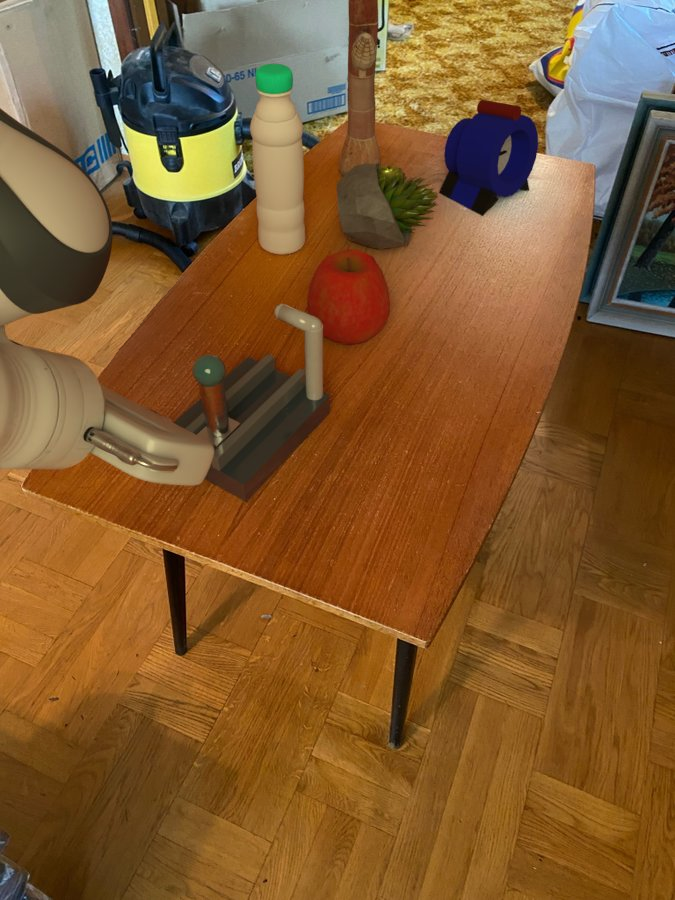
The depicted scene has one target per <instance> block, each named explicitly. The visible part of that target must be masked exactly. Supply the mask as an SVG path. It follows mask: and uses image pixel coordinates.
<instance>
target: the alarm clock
mask: <svg viewBox="0 0 675 900" xmlns="http://www.w3.org/2000/svg"><path fill="white" fill-rule="evenodd" d="M476 111H477V113H476V114H475V115H473V117H472V118H471V117H465V118H462V119H460V120H459V121H457V122H456V124H455V125H454V126H453V127H452V128H451V130H450V131H449V133H448V136H447V138H446V142H445V146H444V154H443V156H444V164H445V167H446V169H447V173H446V176H445V178H444V180H443V183H442V185H441V187H440V189H439V192H438V194H440V195H442V196H444V197H446V198H447V199H450V200H452V202H455V203H457V204H459V205H461V206H463V207H465V208H467V209H468V210H470V211H473V212H475V213H476V214H478V215H480V216H482V217H484V215H486V213H487V212H488V211H490V209H491V208H492V207H493V206H494V205H495V204H496V203H497V202H499V200H500V198H499V197H502V198H507V197H511V196H513V195H515V194H516V193H517V192H519V191H527V192H528V191H530V186H529V185H530V184H529V180H528V179H529V177H530V175H531V173H532V172H533V169H534V166H535V163H536V160H537V155H538V148H539V133H538V129H537V126H536V124H535V122H534V121H533V119H532V118H531V117H529V116H527V115H524V114H522V107H521V106H520V105H516V104H510V103H506V102H505V103H503V102H497V101H491V100H486V99H480V100H479V101H478V103H477V106H476ZM498 196H499V197H498Z"/></svg>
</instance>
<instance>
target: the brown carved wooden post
mask: <svg viewBox="0 0 675 900" xmlns="http://www.w3.org/2000/svg"><path fill="white" fill-rule="evenodd" d="M378 34H379V0H348V47H347V77H346V80H347V96H346V97H347V131H346V132H347V133H346V136H345V139H344V143H343V144H342V147H341V151H340V156H339V164H338V171H339V174H340V175H341V178H342V177H343V176H344V175H345V174H346V173H347V172H349V171H350V170H351V169H352V168H354V167H355V166H357V165H361V164H364V163H368V164H377V163H379V166H382V161H381V152H380V148H379V147H380V146H379V143H378V140H377V139H378V138H377V136H376V107H377V106H376V94H375V92H376V91H375V77H376V66H377V54H378Z"/></svg>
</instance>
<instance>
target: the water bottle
mask: <svg viewBox="0 0 675 900" xmlns="http://www.w3.org/2000/svg"><path fill="white" fill-rule="evenodd" d="M293 75H294V74H293V71H292V69H291V68H290V67H289V66H287V65H284V64H280V63H267V64H263V65H260V66H259V67H257V69H256V71H255V75H254V79H255V87H256V90H257V91H256V92H257V93H258V94H259V100H258V102H257V104H256V106H255V111H254V113H253V115H252V118H251V120H250V124H249V132H250V136H251V137H252V143H251V146H252V150H251V151H252V152H251V153H252V170H253V181H254V190H255V197H256V218H257V221H258V223H257V225H258V226H257V236H258V238H257V239H258V244H259V246H260V247H261V248H262V249H263V250H264V251H266V252H268V253H270V254H273V255H278V256H282V255H284V256H285V255H290V254H294V253H296V252H299V250H301V249H302V248H303V247H304V245H305V243H306V225H305V214H306V211H305V209H306V207H305V201H304V191H305V190H304V187H305V165H304V163H305V162H304V148H303V147H304V146H303V138H302V137H303V133H304V125H303V121H302V119H301V116H300V114H299V112H298V111H297V108H296V104H295V103H294V102H293V101H292V99H291V94H292V92H293V86H294V76H293Z"/></svg>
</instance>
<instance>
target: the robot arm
mask: <svg viewBox="0 0 675 900" xmlns="http://www.w3.org/2000/svg"><path fill="white" fill-rule="evenodd" d="M113 233H114V232H113V221H112V216H111V213H110V209H109V207H108V205H107V202H106V199H105V197H104V195H103V194H102V192H101V191H100V189H99V187H98V185H97V184H96V183H95V181H94V180H93V178H92V177H91V176H90V175H89V174H88V173H87V171H86V170H85V169H84V168H82V166H81V165H80V164H79V163H77V162H76V161H75V160H74V159H73V158H72V157H71V156H69V155H68V154H67V153H65V152H64V151H63V150H62V149H60V148H59V147H57V146H56V145H54V144H53V143H51V142H50V141H49V140H47V139H46V138H44V137H42V136H41V135H40V134H38V133H36V132H35V131H33V130H32V129H30V128H28V127H27V126H26V125H24V124H23V123H21V122H20V121H18V120H17V119H15V118H14V117H12V116H11V115H10V114H8V113H7V112H6V111H5V110H3V109H2V108H1V107H0V470H65V469H69V468H71V467H74V466H76V465H78V464H79V463H81V462H82V461H84V460H85V459H86V458H87V457H88V456H89V455H90V454H92V455H94V456H96V457H97V458H99V459H100V460H102V461H104V462H106V463H108V464H110V465H111V466H113V467H115V468H117V469H118V470H119V471H121V472H123V473H124V474H127V475H129V476H131V477H134V478H136V479H138V480H141V481H144V482H147V483H148V482H149V483H154V484H159V485H160V484H161V485H171V486H186V487H187V486H188V487H189V486H190V487H193V486H199V485H201V484H202V483H203V482H204V480H206V479H205V477H206V475H207V473H208V470H209V468H210V465H211V463H212V460H213V456H214V446H213V444H212V443H210V442H209V441H207V440H205V439H203V438H201V437H199V436H197V435H196V434H194V433H192V432H190V431H188V430H186V429H184V428H182V427H180V426H178V425H177V424H175V423H173V422H174V421H173V420H172V419H171V418H170V417H168V416H166V415H164V414H162V413H160V412H157V411H156V410H155V409H152V408H151V407H149V406H144V405H140V404H139V403H136V402H134V401H133V400H131V399H129V398H127V397H125V396H124V395H121V394H120V393H117V392H116V391H113V390H112V389H111V388H108V387H106V386H104V385H102V384H101V383H100V381H99V379H98V377H97V375H96V373H95V372H94V370H92V368H91V367H90V366H89V365H88V364H87V363H86V362H85V361H83V360H81V359H80V358H77V357H76V356H73V355H69V354H65V353H61V352H56V351H50V350H47V349H43V348H38V347H33V346H29V345H28V346H27V345H24V344H21V343H19V342H16V341H15V340H12V339H10V338H9V337H8V335H7V333H6V325H8V324H11V323H14V322H16V321H19V320H23V319H24V318H27V317H30V316H32V315H41V314H44V313H48V312H52V311H57V310H60V309H64V308H69V307H72V306H75V305H80V304H83V303H85V302H88V300H90V299H91V298H92V297H93V296H94V295H95V294H96V292H97V291H98V289H99V287H100V285H101V284H102V281H103V279H104V277H105V274H106V271H107V269H108V266H109V263H110V259H111V255H112V247H113Z"/></svg>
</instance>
